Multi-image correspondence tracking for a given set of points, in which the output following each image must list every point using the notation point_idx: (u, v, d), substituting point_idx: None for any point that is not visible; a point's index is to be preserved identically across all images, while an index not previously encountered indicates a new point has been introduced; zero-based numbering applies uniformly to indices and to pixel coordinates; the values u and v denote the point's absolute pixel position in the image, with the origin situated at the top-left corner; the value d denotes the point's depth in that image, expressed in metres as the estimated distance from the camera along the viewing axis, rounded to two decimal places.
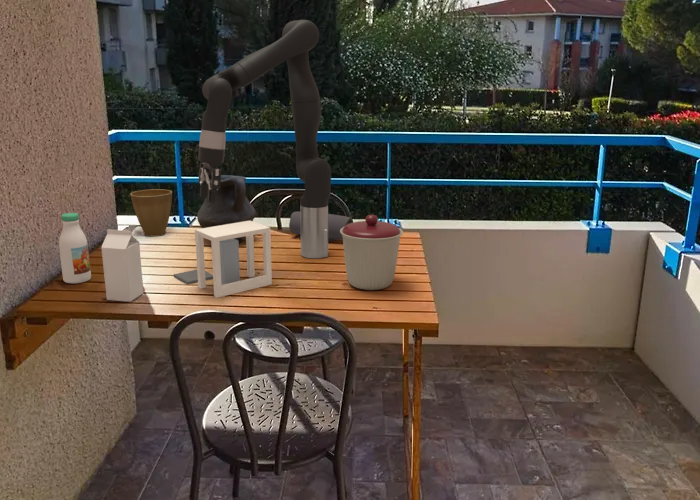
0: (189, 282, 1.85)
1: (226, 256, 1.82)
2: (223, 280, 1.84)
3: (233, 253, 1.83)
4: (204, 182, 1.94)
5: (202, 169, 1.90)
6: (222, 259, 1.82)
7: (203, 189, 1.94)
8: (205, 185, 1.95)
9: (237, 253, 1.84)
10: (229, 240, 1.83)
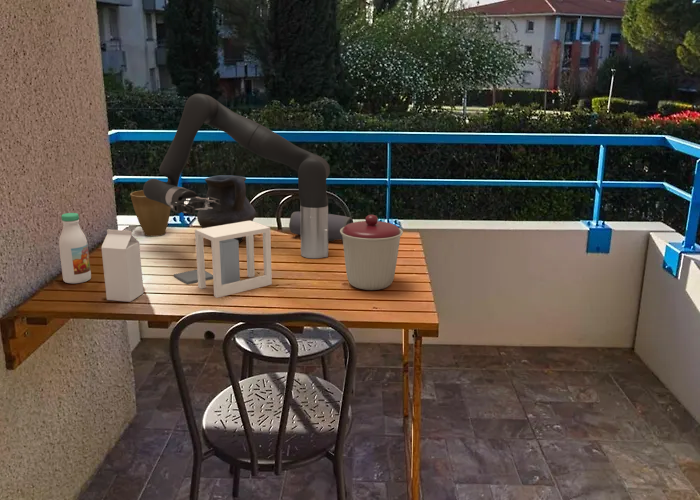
0: (189, 282, 1.85)
1: (226, 256, 1.82)
2: (223, 280, 1.84)
3: (233, 253, 1.83)
4: (211, 205, 1.95)
5: (196, 209, 1.97)
6: (222, 259, 1.82)
7: (214, 207, 1.94)
8: (212, 204, 1.94)
9: (237, 253, 1.84)
10: (229, 240, 1.83)
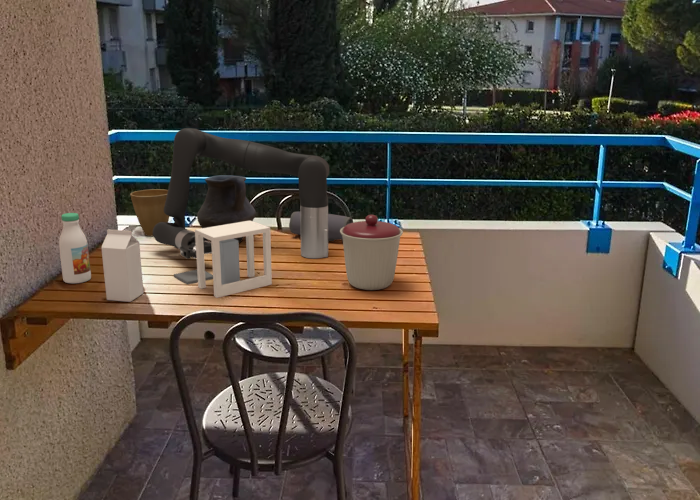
0: (189, 282, 1.85)
1: (226, 256, 1.82)
2: (223, 280, 1.84)
3: (233, 253, 1.83)
4: None
5: (206, 253, 1.98)
6: (222, 259, 1.82)
7: None
8: None
9: (237, 253, 1.84)
10: (229, 240, 1.83)
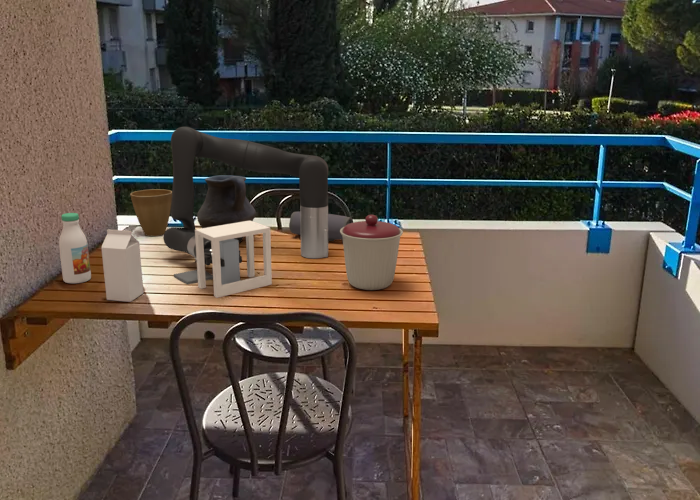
0: (189, 282, 1.85)
1: (226, 255, 1.82)
2: (223, 280, 1.84)
3: (233, 253, 1.83)
4: None
5: None
6: None
7: None
8: None
9: (237, 253, 1.84)
10: (229, 240, 1.83)
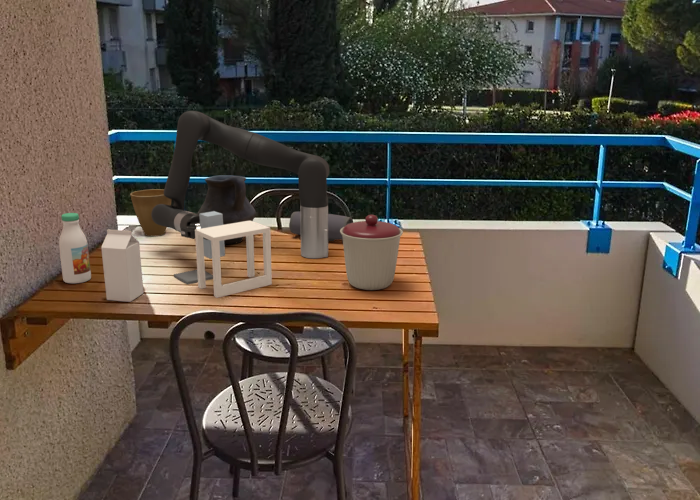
0: (189, 282, 1.85)
1: None
2: (208, 253, 1.89)
3: None
4: None
5: None
6: None
7: None
8: None
9: None
10: (213, 214, 1.88)
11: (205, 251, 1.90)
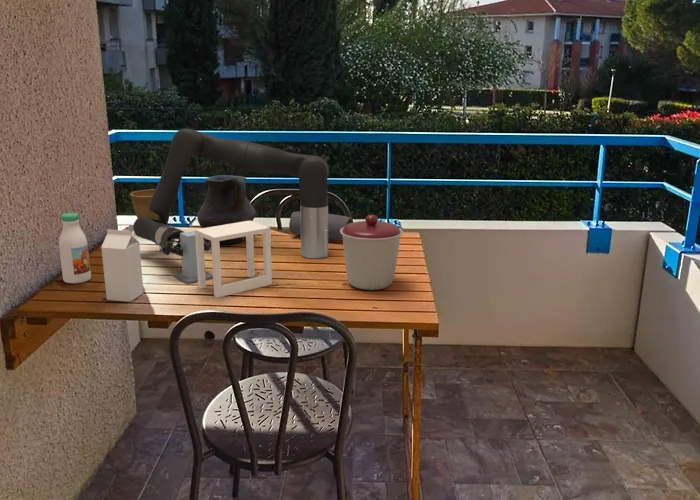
0: (189, 282, 1.85)
1: (191, 249, 1.85)
2: (188, 273, 1.87)
3: None
4: None
5: None
6: (187, 252, 1.85)
7: None
8: None
9: None
10: (194, 233, 1.86)
11: (185, 271, 1.89)
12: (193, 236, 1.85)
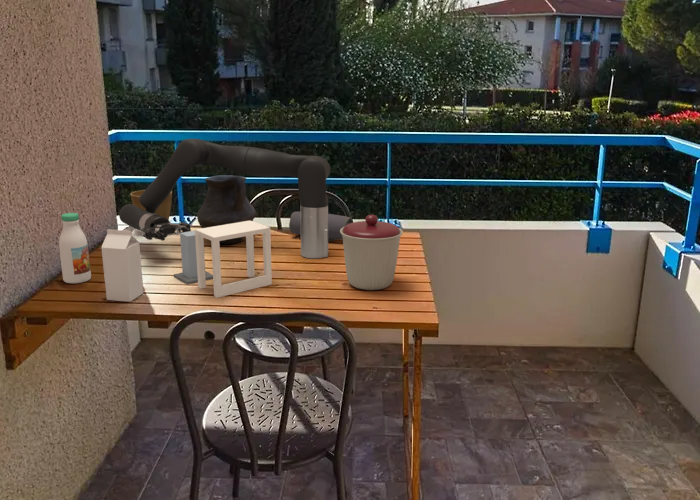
0: (189, 282, 1.85)
1: (191, 249, 1.85)
2: (188, 273, 1.87)
3: None
4: (182, 230, 2.02)
5: (168, 234, 2.04)
6: (187, 252, 1.85)
7: None
8: (183, 229, 2.01)
9: None
10: (194, 233, 1.86)
11: (185, 271, 1.89)
12: (193, 236, 1.85)
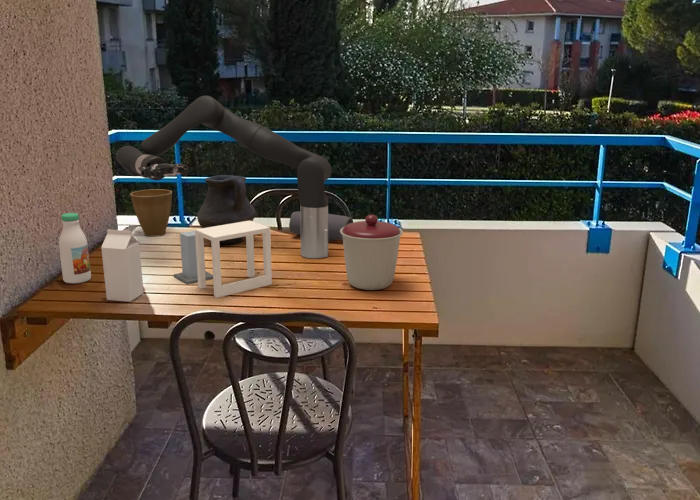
0: (189, 282, 1.85)
1: (191, 249, 1.85)
2: (188, 273, 1.87)
3: None
4: (179, 170, 1.98)
5: (165, 175, 1.99)
6: (187, 252, 1.85)
7: (181, 172, 1.96)
8: (180, 170, 1.97)
9: None
10: (194, 233, 1.86)
11: (185, 271, 1.89)
12: (193, 236, 1.85)
